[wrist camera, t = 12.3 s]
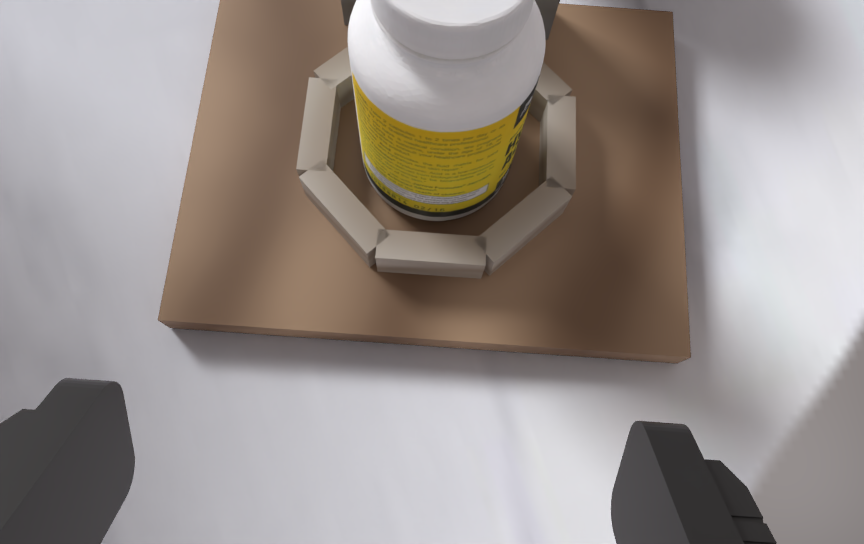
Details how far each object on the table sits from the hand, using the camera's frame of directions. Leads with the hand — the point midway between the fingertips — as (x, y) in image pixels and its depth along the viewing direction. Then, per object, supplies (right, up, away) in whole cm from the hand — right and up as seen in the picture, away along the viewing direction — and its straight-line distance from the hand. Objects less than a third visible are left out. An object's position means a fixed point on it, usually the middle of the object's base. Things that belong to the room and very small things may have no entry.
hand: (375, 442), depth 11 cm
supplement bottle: (+1, +7, +14) cm, 16 cm away
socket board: (+1, +7, +15) cm, 16 cm away
